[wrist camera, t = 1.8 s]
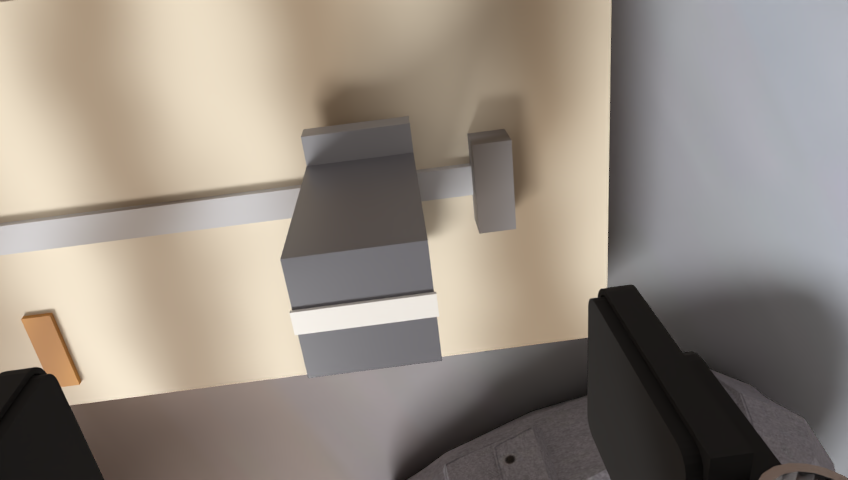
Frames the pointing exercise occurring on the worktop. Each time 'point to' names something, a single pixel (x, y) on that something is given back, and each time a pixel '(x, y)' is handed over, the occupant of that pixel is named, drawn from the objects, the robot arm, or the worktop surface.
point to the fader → (360, 252)
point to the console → (284, 174)
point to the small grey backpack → (577, 452)
